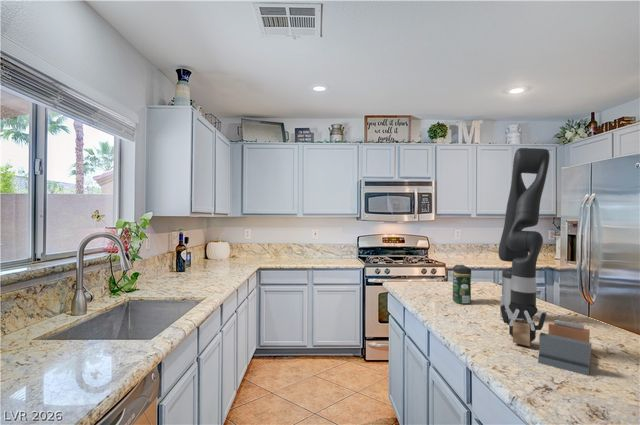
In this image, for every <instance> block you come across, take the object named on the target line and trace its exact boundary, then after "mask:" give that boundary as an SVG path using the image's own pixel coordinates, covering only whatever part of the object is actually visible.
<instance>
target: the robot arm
mask: <svg viewBox="0 0 640 425" xmlns="http://www.w3.org/2000/svg"><path fill="white" fill-rule="evenodd" d="M549 164H550V151H549V150H548V149H547V148H541V147H540V148H538V147H537V148H534V147H532V148H531V147H530V148H529V147H519V148H517V150H516V151H515V153H514V157H513V162H512V171H511V183H510V190H509V195H508V200H507V203H506V210H505V217H504V223H503V224H504V225H503V230H502V234H501V237H500V241H499V245H498V258H499V260H501V261H502V262H509V263H510V262H511V267H509V268H505V269H503V270H502V273H501V275H502V276H501V279H502V280H501V293H500V298H499V299H500V306H499V307H500V309H499V313H500V315H499V317H501V318H502V320H503V321H502V322H503V323H504V324H507V325H508V326H509V329H508V330H509V332H508V333H509V335H510V336H511V337H512V338H513V321H514V322H515V320H516V319H517V320H522V321H527V322H528V323H529V325H530V328H531V330H530V341H532V342H533V341H535V340H536V338H537V337H536V336H537V335H536V334H537V333H536V332H537V331H541V330H542V329H543V327H544V323H545V321H546V318H547V314H548V313H547V312H546V311H542V310H539V309H538V308H537V289H538V287H537V278H536V277H537V276H536V275H537V271H536V270H537V262H538V257H539V255H540V252H541V250H542V246H543V243H544V239H543V238H544V237H543V236H542V234H541V233H540V232H539V231H535V230H532V231H531V230H524V229H526V228H527V229H528V228H532V227H535V226H537V225H538V223H539V218H540V210H541V209H540V208H541V206H540V205H541V199H542V196H543V192H544V189H545V184H546V178H547V175H548V171H549ZM523 174H534V175H535V178H534V180H533V182H532V183H531V184H530V185H529V186H528V187H526V185H525V182H524V179H523V177H522V175H523ZM536 314H537V317H538V318H539V322H538V324H537V325H536V322H535V319H534V317H535V315H536Z"/></svg>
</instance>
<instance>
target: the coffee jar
mask: <svg viewBox="0 0 640 425" xmlns="http://www.w3.org/2000/svg"><path fill="white" fill-rule="evenodd" d="M471 282H472V269H471V268H470V267H468V266H467V265H464V264H455V265H454V266H453V267H452V300H453V302H455V303H456V304H461V305H468V304H471V303H472V293H471V292H472V288H471V287H472V283H471Z"/></svg>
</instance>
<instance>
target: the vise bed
mask: <svg viewBox="0 0 640 425" xmlns="http://www.w3.org/2000/svg"><path fill="white" fill-rule="evenodd" d="M538 336H539V339H538V340H539V342H538V344H539V345H538V358H537V363H538V364H542V365H545V366H546V365H547V366H550V367H553V368H558V369H562V370H565V371H570V372H574V373H576V374H577V373H578V374H582V375H585V376H589V374H590V365H591V358H592V357H591V356H592V343H591V342H590V341H589V342H585V341H580V340H575V339H570V338H566V337H561V336H556V335H551V334H548V333H545V332H540V333H539V335H538Z"/></svg>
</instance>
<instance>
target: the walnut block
mask: <svg viewBox="0 0 640 425" xmlns="http://www.w3.org/2000/svg"><path fill="white" fill-rule="evenodd" d="M530 330H531V328H530V325H529V323H528V321H527V320H517V319H516V320H515V322H514V321H513V337H512V343H515V344H518V345H523V346H527V347H530V346H531V344H532V343H533V341H530Z"/></svg>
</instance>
